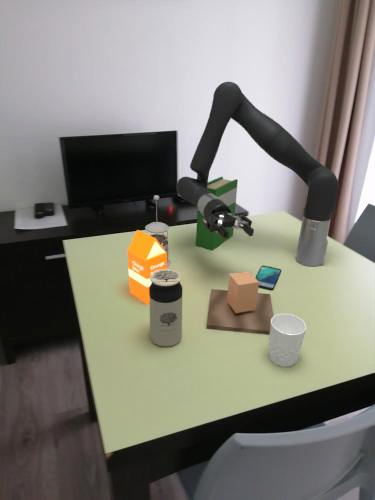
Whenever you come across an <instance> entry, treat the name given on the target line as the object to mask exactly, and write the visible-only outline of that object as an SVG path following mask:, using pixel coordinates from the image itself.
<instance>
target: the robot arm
mask: <svg viewBox="0 0 375 500" xmlns="http://www.w3.org/2000/svg"><path fill="white" fill-rule="evenodd" d="M231 119H232V120H233V121H235V123H237V124H238V125H240V127H242V128H243V129H244V130H245V131H246V133H247V134H248V135H249V136H250V138H251V139H252V141H254V142H255V143H256V144H257V145H258V146H259V148H261V149H262V150H263V151H264V152H265V153H266V154H267V155H268V156H270V158H272V159H273V160H274V161H276V162H277V163H279V164H281V165H283V166H285V167H286V168H288V169H289V170H291V171H293V172H294V173H295V175H297V177H299V178H300V179H301V180H302V181H303V182H304V184H305V185H306V186H307V187H308V189H307V195H306V201H305V206H304V209H303V214H302V220H301V225H300V231H299V237H298V242H297V247H296V253H295V261H296V262H298V263H299V264H301V265H303V266H307V267H318V266H324V263H325V257H326V252H327V248H328V247H327V246H328V242H329V241H328V235H329V230H330V225H331V220H332V215H333V213H334V212H335V206H336V203H337V200H338V199H337V198H338V193H339V189H340V183H339V179H338V177H337V175H336V174H335V173H334V172H333V171H332V170H330V168H328V167H326V166H324V164H322V163H321V162H319V161H318V160H317V159H315V158H314V156H312V155H310V153H309V152H307V151H306V149H305V148H304V147H303V145H302V144H301V143H300V142H298V140H297V139H296V138H295V137H294V136H293V135H292V134H291V133H290V132H289V131H288V130H286V129H285V128H284V127H283V126H282V125H281V124H280V123H279V122H277V121H275V120H274V119H273V118H272V117H270V116H269V115H267V114H265V113H264V112H262V111H261V110H260V109H258V108H257V107H256V106H255V105H254V104H253V103H252V102H251V101H250V100H249V98H248V97H246V95H245V94H244V93H243V91H242V90H241V88H240V86H239V85H238V84H236V83H235V82H233V81H225V82H222V83H220V84H219V85H218V86H217V87H216V88H215V90H214V92H213V98H212V102H211V107H210V112H209V115H208V119H207V122H206V124H205V128H204V130H203V132H202V135H201V137H200V140H199V142H198V143H197V146H196V148H195V151H194V154H193V157H192V159H191V161H190V165H189V168H190V170H191V171H192V172H194V173H196V178H193V177H190V176H182V177H180V178H179V179H178V180H177V183H176V192H177V194H178V195H179V196H180V197H181V198H182V199H183V200H184V201H186V202H189V203H190V204H192V205H193V206H194V207H195V208H196V209H198V210H199V211H200V212H201V214H202V215H203V216H204V219H203V224H204V225H205V227H206V228H207V229H208V230H209V231H210V232H213V231H216V232H217V233H219V234H220V235H221V236H222V237H224V238H225V239H226V238H228V235H229V232H228V231H227V230H226V229H225V228H226V227H232V228H234V229H235V230H242V231H243V232H244V233H245V234H246V235H247V236H248V237H253V236H254V233H255V232H254V231H255V229H254V228H253V227H251V226H252V224H253V221H252V220H251V219H250V218H249V217H247V216H246V215H245V214H244V213H242V212H239V213H238V214H239V215H236V214H235V215H234V214H232V213H231V211H230V208H229V207H228V206H227V205H226V204H225V203H224V202H223V201H222V200H220V199H219V198H218V197H217V196H215V195H214V194H212V193H211V192H210V191H209V190H208V189H207V184H208V182H209V177H210V171H211V168H212V166H213V163H214V161H215V158H216V156H217V154H218V151H219V148H220V144H221V141H222V138H223V135H224V133H225V130H226V128H227V126H228V124H229V122H230V121H231ZM236 221H237V223H236Z"/></svg>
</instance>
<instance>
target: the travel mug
mask: <svg viewBox="0 0 375 500" xmlns="http://www.w3.org/2000/svg"><path fill="white" fill-rule="evenodd" d="M182 277H183V275H182V274H181V272H179V271H177V270H175V269H172V268H171V269H170V268H167V269H161V270H157V271H155V272H153V273H152V274H151V275H150V280H151V282H152V283H151V285H150V287H149V302H150V304H149V326H150V329H149V331H150V339H151V341H152V342H153V343H154V344H155V345H157V346H159V347H172V346H174V345H177V344H178V343H179V342H180V341H181V339H182V335H183V331H182V330H183V329H182V328H183V327H182V326H183V286H182V284H181V280H182Z"/></svg>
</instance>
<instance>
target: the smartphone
mask: <svg viewBox="0 0 375 500" xmlns="http://www.w3.org/2000/svg"><path fill="white" fill-rule="evenodd" d="M281 272H282V269H281V268H277V267H273V266H269V265H268V266H267V265H260V268H259V269H258V271H257V274H256V276H254V277H255V278H256V279H257V280H258V281H259V286H258V289H262V290H265V291H266V290H267V291H270V292H272V291H274V290H275V287H276V285H277V284H278V283H277V282H278V281H279V279H280V276H281Z"/></svg>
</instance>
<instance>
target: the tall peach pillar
mask: <svg viewBox="0 0 375 500" xmlns="http://www.w3.org/2000/svg"><path fill="white" fill-rule="evenodd" d="M255 277H256V276H254V275H253V273H251V272H250V271H243V272H235V273H229V275H228V283H227V284H228V285H227V290H228V296H227V302H228V303H229V305H230V306H231V307H232V309H233V310H234V312H235V313H240V312H246V311H251V310H256V302H257V294H258V293H259V288H258V286H259V281H258V280H257V279H256V278H255Z"/></svg>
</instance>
